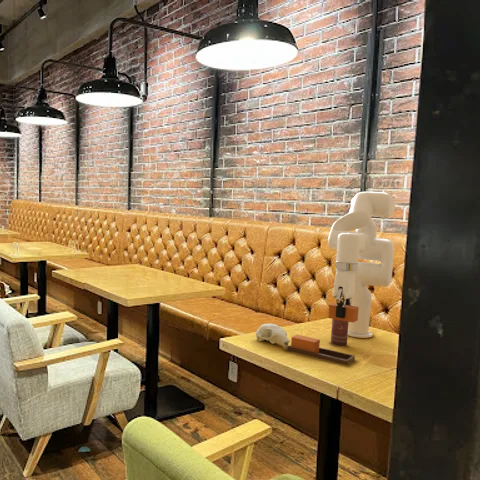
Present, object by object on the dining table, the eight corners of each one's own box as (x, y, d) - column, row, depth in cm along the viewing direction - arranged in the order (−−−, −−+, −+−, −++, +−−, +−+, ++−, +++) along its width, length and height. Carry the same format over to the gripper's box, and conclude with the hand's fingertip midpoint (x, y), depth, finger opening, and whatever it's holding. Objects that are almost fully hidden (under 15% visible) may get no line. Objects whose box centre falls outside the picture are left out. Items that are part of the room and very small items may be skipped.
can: (348, 347, 190) (351, 312, 189) (331, 346, 192) (334, 311, 190) (346, 343, 196) (348, 309, 195) (329, 341, 198) (332, 308, 196)
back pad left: (296, 347, 187) (297, 334, 187) (319, 352, 181) (319, 339, 181) (290, 349, 183) (291, 337, 183) (313, 355, 178) (314, 342, 177)
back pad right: (332, 315, 182) (333, 302, 181) (357, 320, 176) (358, 306, 176) (328, 318, 178) (329, 304, 177) (353, 322, 172) (354, 308, 172)
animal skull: (273, 352, 180) (270, 325, 182) (253, 349, 196) (250, 324, 197) (297, 349, 183) (294, 322, 185) (275, 346, 199) (273, 321, 200)
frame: (296, 347, 189) (296, 342, 189) (354, 361, 175) (354, 355, 175) (287, 351, 182) (287, 346, 182) (346, 366, 168) (347, 361, 168)
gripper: (344, 264, 184) (340, 311, 186) (327, 267, 171) (324, 318, 173) (364, 266, 180) (360, 314, 181) (349, 270, 166) (345, 322, 168)
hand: (342, 315), depth 177 cm, fingers closed on back pad right, 5 cm apart
